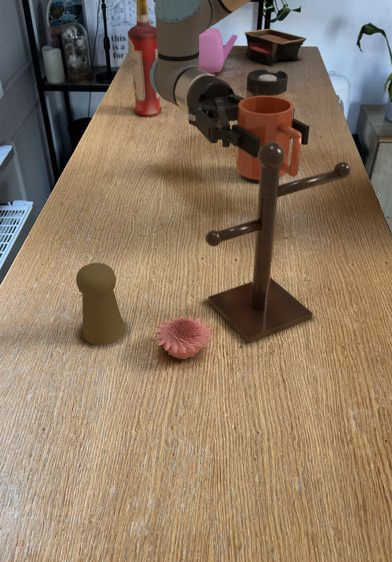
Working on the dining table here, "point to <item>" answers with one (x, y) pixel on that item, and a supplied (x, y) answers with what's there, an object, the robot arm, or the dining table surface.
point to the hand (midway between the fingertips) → (282, 141)
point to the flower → (183, 336)
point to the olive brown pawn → (99, 304)
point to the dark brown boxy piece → (272, 46)
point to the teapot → (213, 50)
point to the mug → (268, 132)
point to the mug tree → (265, 256)
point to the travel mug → (266, 88)
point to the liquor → (143, 62)
